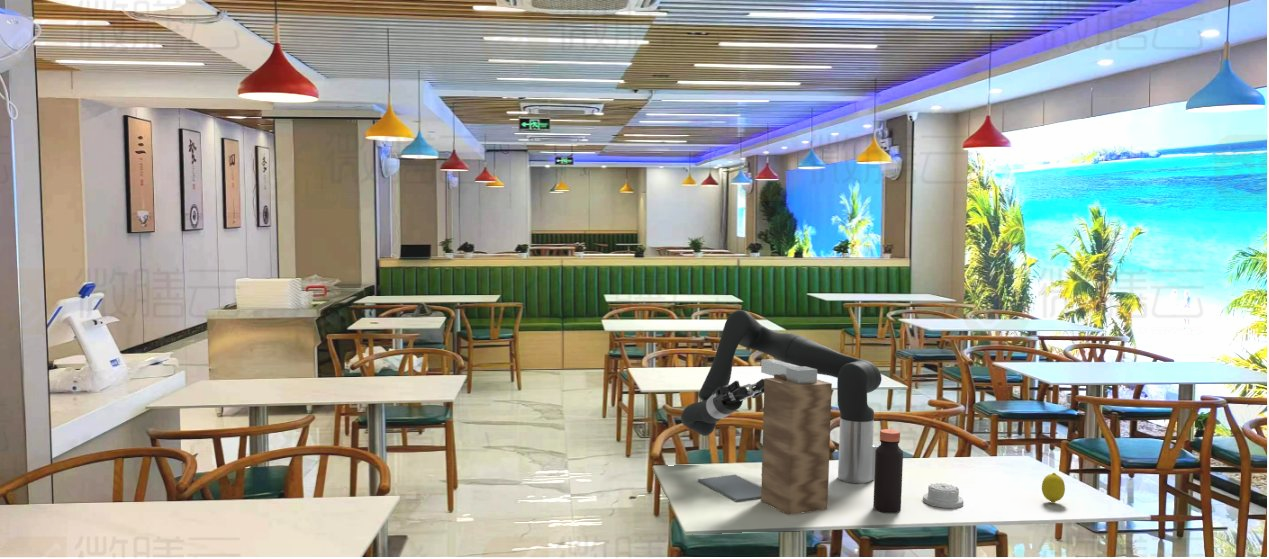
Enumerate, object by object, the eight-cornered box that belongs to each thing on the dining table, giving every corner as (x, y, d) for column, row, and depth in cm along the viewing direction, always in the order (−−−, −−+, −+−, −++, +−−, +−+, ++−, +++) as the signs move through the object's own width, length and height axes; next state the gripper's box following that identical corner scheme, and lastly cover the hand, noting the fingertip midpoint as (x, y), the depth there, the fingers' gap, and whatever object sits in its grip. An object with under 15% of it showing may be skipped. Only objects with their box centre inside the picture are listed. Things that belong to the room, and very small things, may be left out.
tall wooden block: (799, 495, 252) (803, 372, 250) (827, 509, 242) (831, 380, 239) (760, 501, 247) (764, 375, 245) (788, 514, 236) (792, 383, 234)
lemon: (1064, 501, 252) (1065, 471, 251) (1063, 507, 247) (1065, 477, 246) (1041, 498, 254) (1042, 469, 253) (1040, 504, 249) (1042, 474, 248)
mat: (735, 476, 270) (735, 474, 269) (775, 496, 252) (775, 494, 252) (698, 481, 264) (698, 479, 264) (737, 501, 246) (737, 499, 246)
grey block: (775, 371, 256) (776, 358, 256) (816, 382, 240) (817, 369, 240) (757, 372, 253) (757, 359, 253) (797, 384, 237) (798, 370, 237)
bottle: (886, 514, 238) (889, 435, 236) (867, 507, 244) (870, 429, 242) (906, 511, 241) (909, 432, 240) (887, 503, 247) (891, 427, 246)
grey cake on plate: (967, 510, 244) (958, 498, 254) (968, 493, 243) (958, 482, 253) (927, 508, 245) (919, 496, 255) (927, 491, 244) (920, 480, 254)
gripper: (699, 391, 273) (725, 371, 260) (742, 388, 279) (770, 368, 266) (705, 416, 270) (732, 397, 257) (748, 413, 276) (776, 394, 263)
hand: (751, 383), depth 261 cm, fingers open, 8 cm apart
